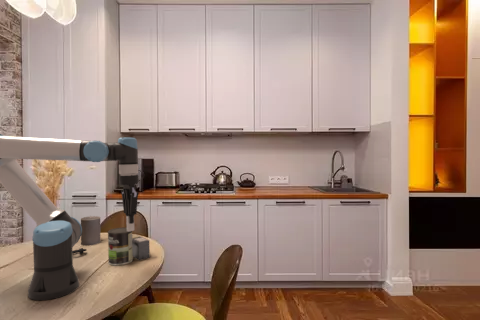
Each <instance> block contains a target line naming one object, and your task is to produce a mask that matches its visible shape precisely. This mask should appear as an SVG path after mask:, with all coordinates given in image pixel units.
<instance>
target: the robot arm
mask: <svg viewBox="0 0 480 320" xmlns="http://www.w3.org/2000/svg"><path fill="white" fill-rule="evenodd" d="M138 150H139V148H138V140H137V138H136V137H119V138H118V139H117V142H102V141H101V140H80V139H79V140H78V139H63V138H49V137H48V138H44V137H28V136H13V135H12V136H10V135H9V136H8V135H3V134H1V133H0V184H1V186H3V188H4V189H5V190H6V191H7V193H9V195H10V196H11V197H12V198H13V199H14V200H15V201H16V202H17V204H18V205H19V206H20V207H21V208H22V209H23V210H24V211H25V212H26V213H27V214H28V216H29V218H31V219H32V220H33V222H35V224H36V226H35V228H34V229H33V232H32V246H33V248H32V249H33V275H32V277H31V280H30V282H29V283H30V284H29V286H28V290H27V291H28V292H27V295H28V298H29V299H31V300H34V301H46V300H53V299H57V298H61V297H64V296H66V295H69V294H71V293H73V292H74V291H76V290H78V288H79V287H80V284H79V283H80V280H79V277H78V275H77V271H76V269H75V268H74V264H73V263H74V262H73V259H74V258H73V255H74V253H72V251H73V247H74V246H75V245H76V244H77V243H78V242H79V240H81V234H82V227H81V221H79V220H78V219H77V218H75V217H73V216H71V215H70V214H69V213H68V212H67V211H66V210H65V209H60V208H58V207H57V206H56V205H55V204H54V202H52V200H51V199H50V198H49V197H48V195H47V194H46V193H45V192H44V191H43V190H42V189H41V188H40V186H38V184H37V183H36V182H35V180H34V179H33V178H32V177H31V176H30V175H29V174H28V173H27V171H26V170H25V169H24V168H23V167H22V166H21V164H20V163H19V162H18V161H17V160H41V161H43V160H44V161H69V162H71V161H73V162H76V161H77V162H91V163H101V162H112V161H113V162H116V161H118V174H119V176H118V177H119V178H118V179H119V185H123V188H122V190H120V194H121V199H122V200H121V201H122V208H123V213H124V214H125V216H126V219H125V220H126V224H125V225H126V228H127V231H128V232H129V231H132V232H134V231H135V215H137V210H138V197H139V192H138V191H137V189H136V185H137V184H139V168H140V166H139V163H138V162H139V152H138Z"/></svg>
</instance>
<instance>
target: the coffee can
mask: <svg viewBox="0 0 480 320" xmlns="http://www.w3.org/2000/svg"><path fill="white" fill-rule="evenodd" d="M132 235H133V231H129V232H128V231H127V227H116V228H112V229H108V231H107V251H108V252H107V253H108V254H107V255H108V259H107V260H108V262H107V263H108V265H110V266H123V265H128V264H130V263H132V262H133V259H134V257H133V255H132Z"/></svg>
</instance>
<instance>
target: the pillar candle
mask: <svg viewBox="0 0 480 320" xmlns="http://www.w3.org/2000/svg"><path fill="white" fill-rule="evenodd" d="M80 224H81V227H82V234H81V237H80V244H81V245H82V246H93V245H97V244H100V243H101V217H100V216H98V215H96V216H95V215H89V216H85V217H81V218H80Z"/></svg>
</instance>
